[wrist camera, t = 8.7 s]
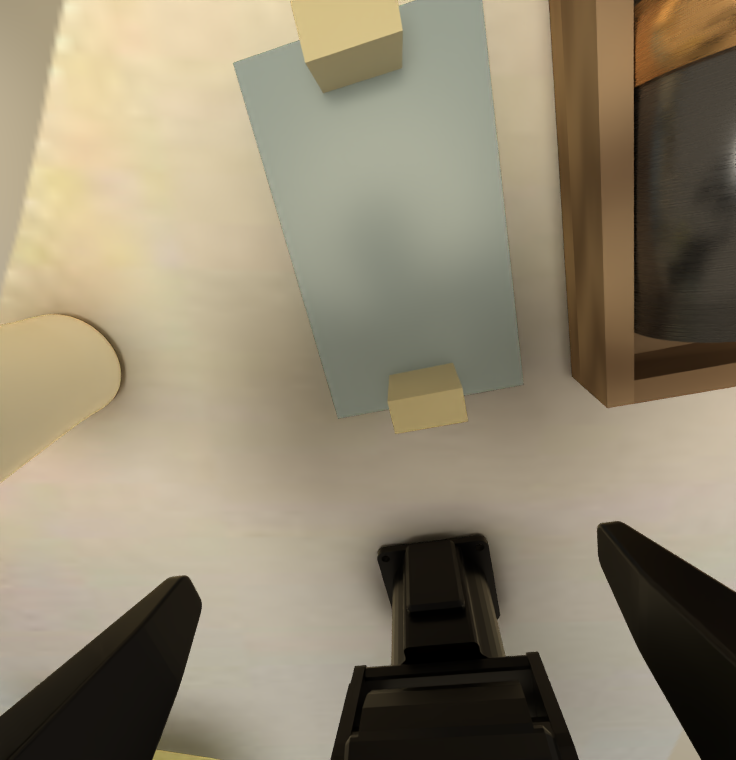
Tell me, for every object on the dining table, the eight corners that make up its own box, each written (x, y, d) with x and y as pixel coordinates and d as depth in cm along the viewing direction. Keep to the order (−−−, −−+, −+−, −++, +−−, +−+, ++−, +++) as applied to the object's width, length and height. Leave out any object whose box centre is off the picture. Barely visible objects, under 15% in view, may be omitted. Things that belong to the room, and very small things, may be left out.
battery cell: (777, 291, 15) (852, 335, 11) (619, 308, 17) (632, 348, 13) (823, -45, 12) (959, -167, 7) (617, 34, 14) (635, -25, 10)
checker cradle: (517, 376, 19) (545, 413, 16) (341, 409, 21) (327, 450, 17) (474, -6, 14) (501, -88, 10) (243, 72, 15) (193, 25, 12)
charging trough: (783, 338, 18) (869, 364, 14) (572, 376, 19) (607, 408, 16) (849, -154, 12) (1014, -292, 9) (546, -49, 14) (592, -135, 10)
